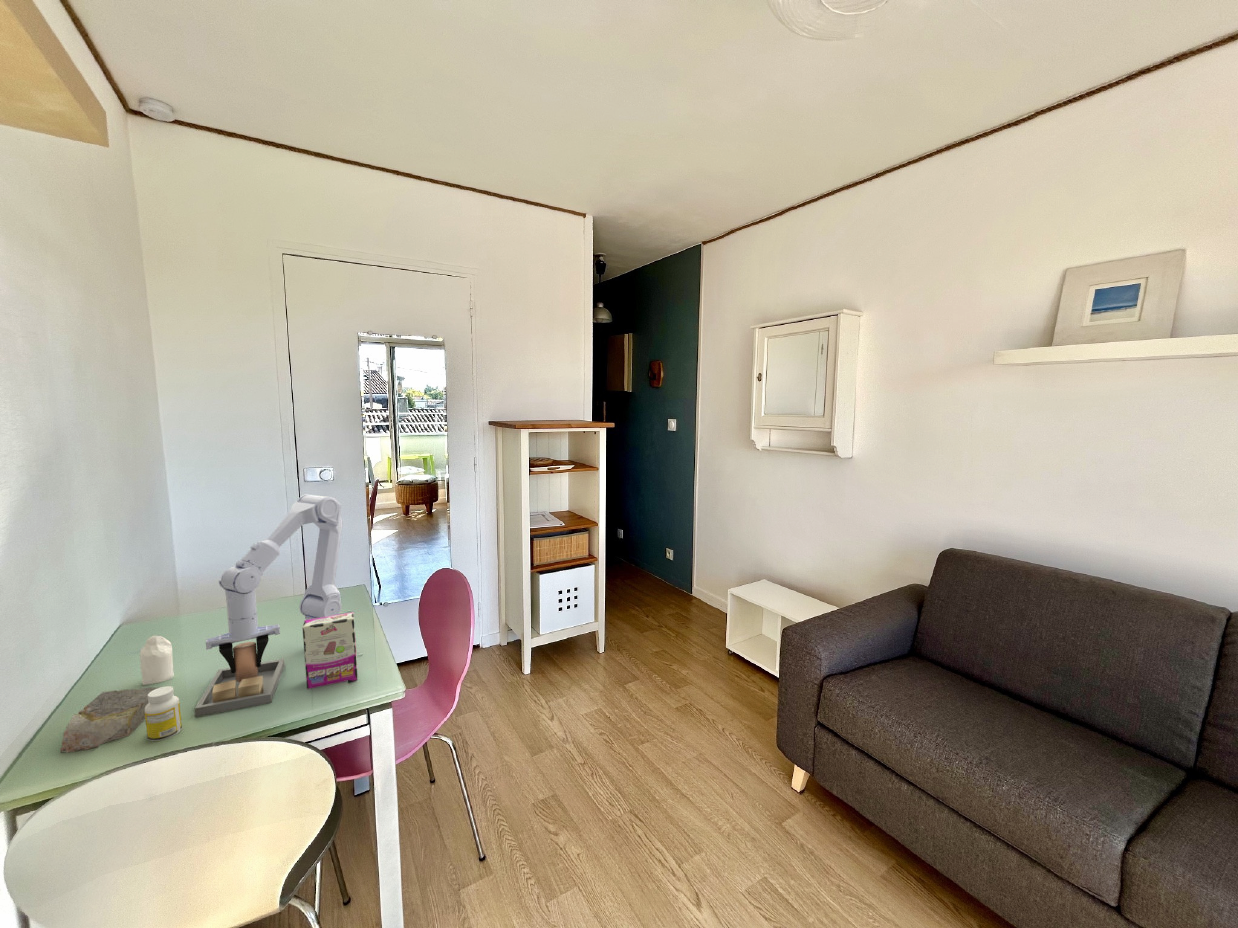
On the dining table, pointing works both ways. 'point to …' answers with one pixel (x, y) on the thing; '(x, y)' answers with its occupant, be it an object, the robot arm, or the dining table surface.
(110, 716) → the geological specimen
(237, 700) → the tray
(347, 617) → the candy bar box
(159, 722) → the supplement bottle
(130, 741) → the dining table surface
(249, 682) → the beech block
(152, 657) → the white sack
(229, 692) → the beech block
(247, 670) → the flesh-toned capsule
